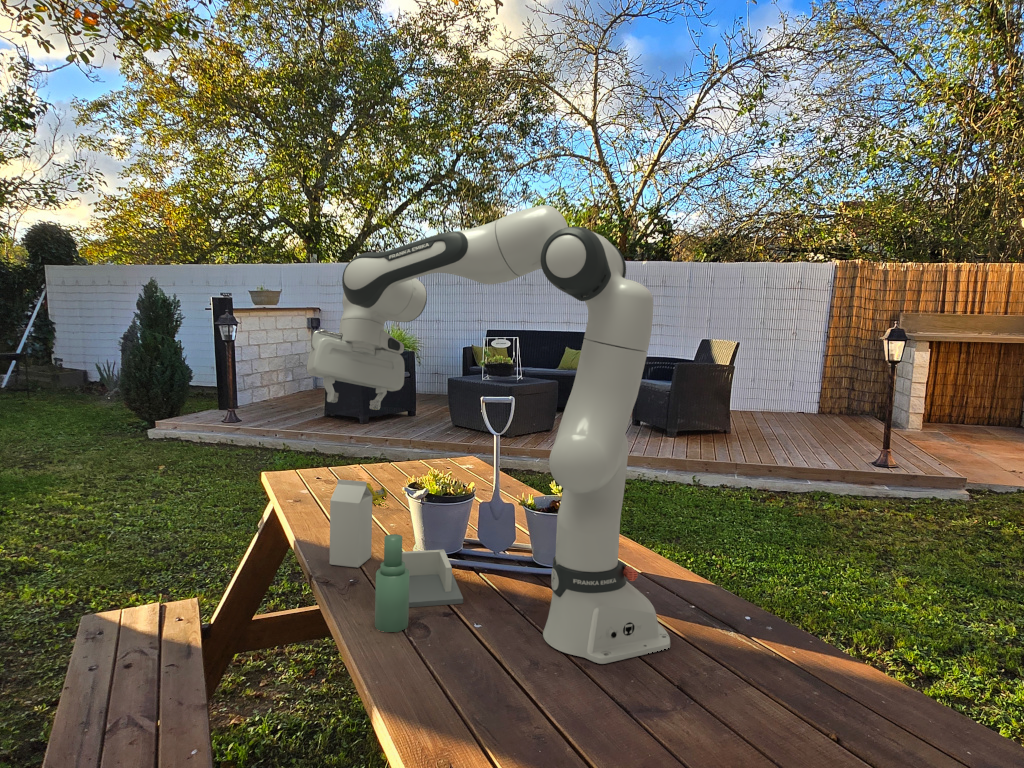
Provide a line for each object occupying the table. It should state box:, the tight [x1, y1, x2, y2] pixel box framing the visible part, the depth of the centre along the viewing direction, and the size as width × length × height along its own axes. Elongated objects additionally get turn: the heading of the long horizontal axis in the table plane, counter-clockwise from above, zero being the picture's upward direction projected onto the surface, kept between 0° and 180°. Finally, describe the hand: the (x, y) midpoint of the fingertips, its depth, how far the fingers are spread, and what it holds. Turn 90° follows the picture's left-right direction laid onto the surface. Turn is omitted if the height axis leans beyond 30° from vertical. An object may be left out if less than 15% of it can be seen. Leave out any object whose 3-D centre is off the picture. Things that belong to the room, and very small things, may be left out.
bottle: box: [374, 533, 410, 633], centre depth 116 cm, size 6×6×16 cm
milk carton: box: [329, 478, 373, 568], centre depth 147 cm, size 7×7×19 cm
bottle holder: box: [402, 549, 464, 608], centre depth 134 cm, size 15×18×6 cm
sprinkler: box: [367, 482, 390, 507], centre depth 198 cm, size 19×4×15 cm
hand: (353, 405), depth 127 cm, fingers open, 8 cm apart
